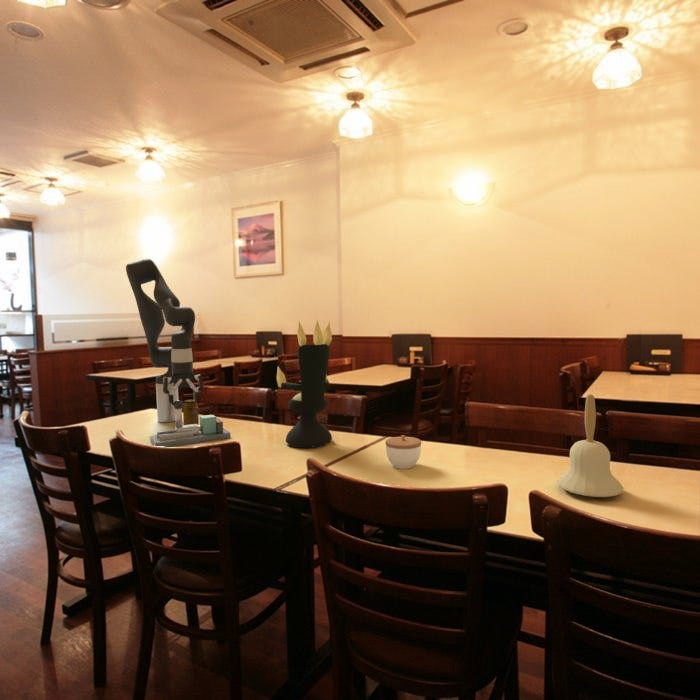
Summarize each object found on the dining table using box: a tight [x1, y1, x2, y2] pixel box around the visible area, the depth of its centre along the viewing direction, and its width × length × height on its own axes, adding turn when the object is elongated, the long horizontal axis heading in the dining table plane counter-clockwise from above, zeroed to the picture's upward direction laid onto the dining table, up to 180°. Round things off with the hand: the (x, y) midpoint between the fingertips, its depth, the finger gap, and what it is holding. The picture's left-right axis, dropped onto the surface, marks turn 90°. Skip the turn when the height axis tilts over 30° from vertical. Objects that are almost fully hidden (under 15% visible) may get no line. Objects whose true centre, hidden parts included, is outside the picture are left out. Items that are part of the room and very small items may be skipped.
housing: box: [199, 414, 217, 434], centre depth 195 cm, size 5×5×6 cm
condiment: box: [182, 399, 200, 426], centre depth 209 cm, size 7×8×12 cm
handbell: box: [556, 393, 625, 498], centre depth 127 cm, size 15×15×25 cm
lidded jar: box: [385, 434, 422, 470], centre depth 153 cm, size 11×11×9 cm
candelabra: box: [276, 319, 333, 449], centre depth 179 cm, size 19×22×45 cm
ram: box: [173, 399, 202, 434], centre depth 191 cm, size 4×10×13 cm, turn 120°
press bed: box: [149, 417, 231, 448], centre depth 191 cm, size 13×27×6 cm, turn 120°
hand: (183, 403), depth 190 cm, fingers open, 8 cm apart
